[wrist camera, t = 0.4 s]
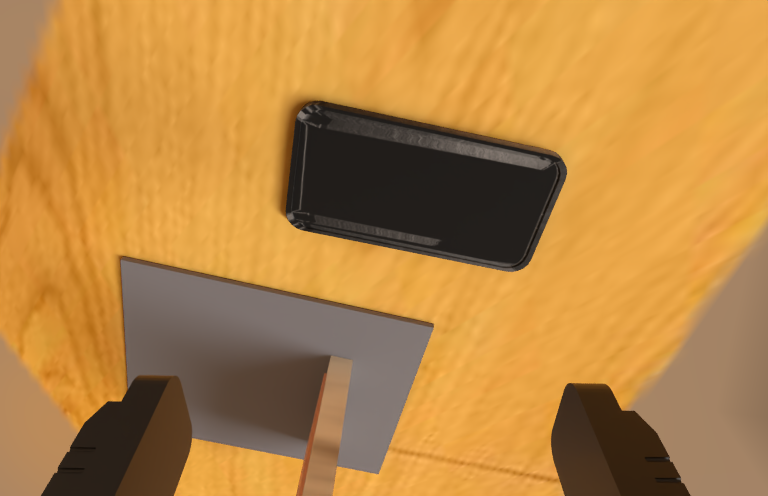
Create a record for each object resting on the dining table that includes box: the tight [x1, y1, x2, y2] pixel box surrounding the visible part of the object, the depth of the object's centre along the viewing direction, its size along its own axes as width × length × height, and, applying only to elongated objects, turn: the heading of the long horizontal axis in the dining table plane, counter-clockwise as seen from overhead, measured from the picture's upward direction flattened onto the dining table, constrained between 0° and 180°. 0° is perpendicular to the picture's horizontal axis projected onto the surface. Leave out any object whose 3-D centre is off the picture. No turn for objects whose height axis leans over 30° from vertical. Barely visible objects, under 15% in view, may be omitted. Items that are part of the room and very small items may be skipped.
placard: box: [296, 356, 353, 496], centre depth 34 cm, size 10×2×14 cm, turn 167°
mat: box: [121, 256, 434, 474], centre depth 39 cm, size 17×21×1 cm
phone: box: [286, 101, 567, 272], centre depth 30 cm, size 8×1×15 cm
